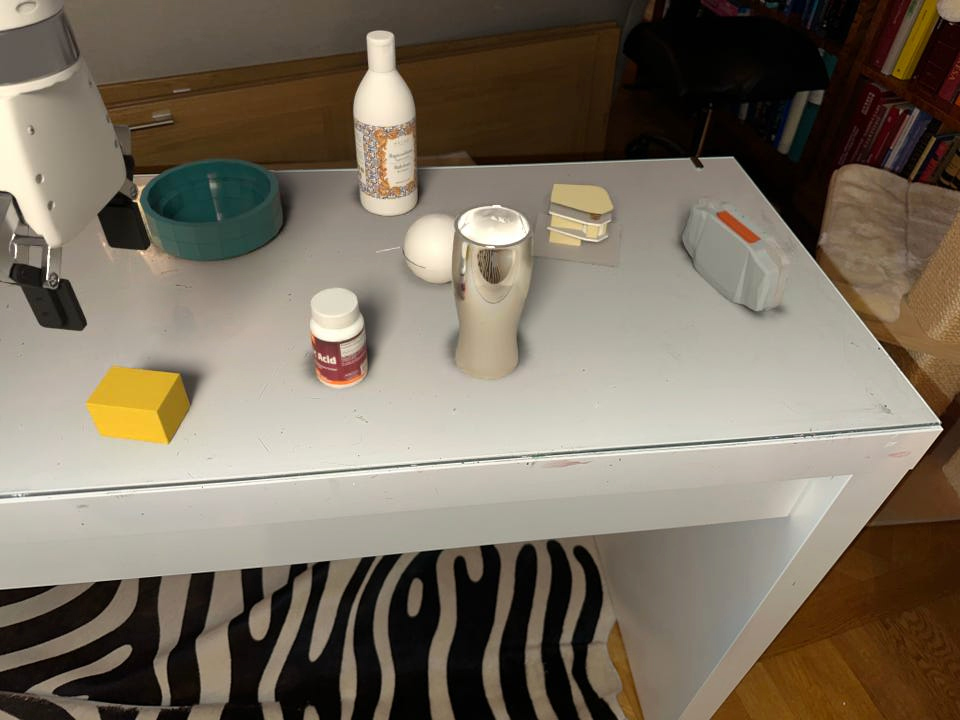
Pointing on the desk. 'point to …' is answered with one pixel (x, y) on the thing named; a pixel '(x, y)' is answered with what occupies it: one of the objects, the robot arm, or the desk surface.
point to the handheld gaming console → (736, 255)
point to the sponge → (138, 404)
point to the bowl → (212, 209)
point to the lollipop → (430, 247)
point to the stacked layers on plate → (578, 226)
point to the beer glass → (490, 286)
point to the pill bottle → (338, 338)
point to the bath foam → (385, 132)
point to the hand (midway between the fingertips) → (99, 284)
